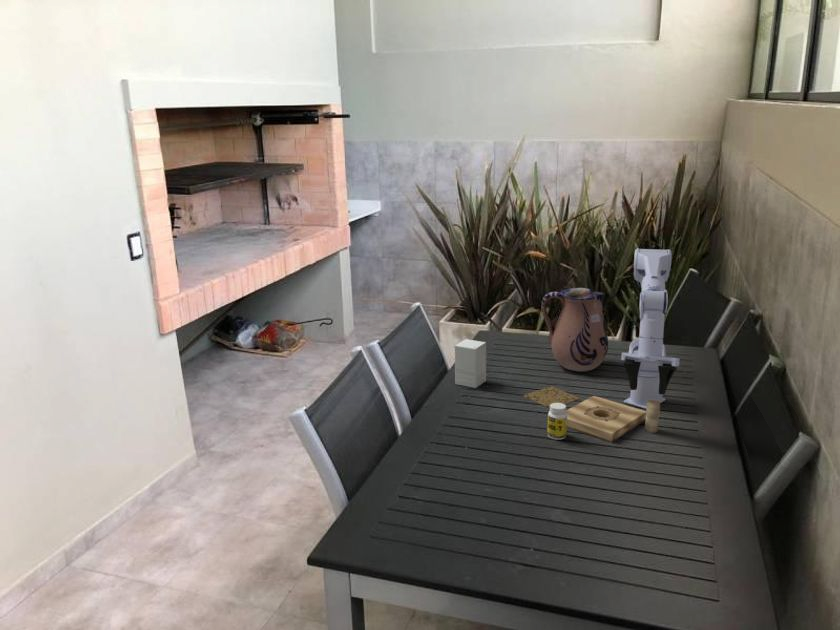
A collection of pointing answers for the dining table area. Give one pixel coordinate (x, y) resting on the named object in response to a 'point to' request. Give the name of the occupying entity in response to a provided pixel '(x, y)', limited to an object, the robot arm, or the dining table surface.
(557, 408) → the supplement bottle
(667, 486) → the dining table surface
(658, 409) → the dowel
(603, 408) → the bore board
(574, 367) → the ceramic pitcher
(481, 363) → the supplement box
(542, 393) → the cookie
